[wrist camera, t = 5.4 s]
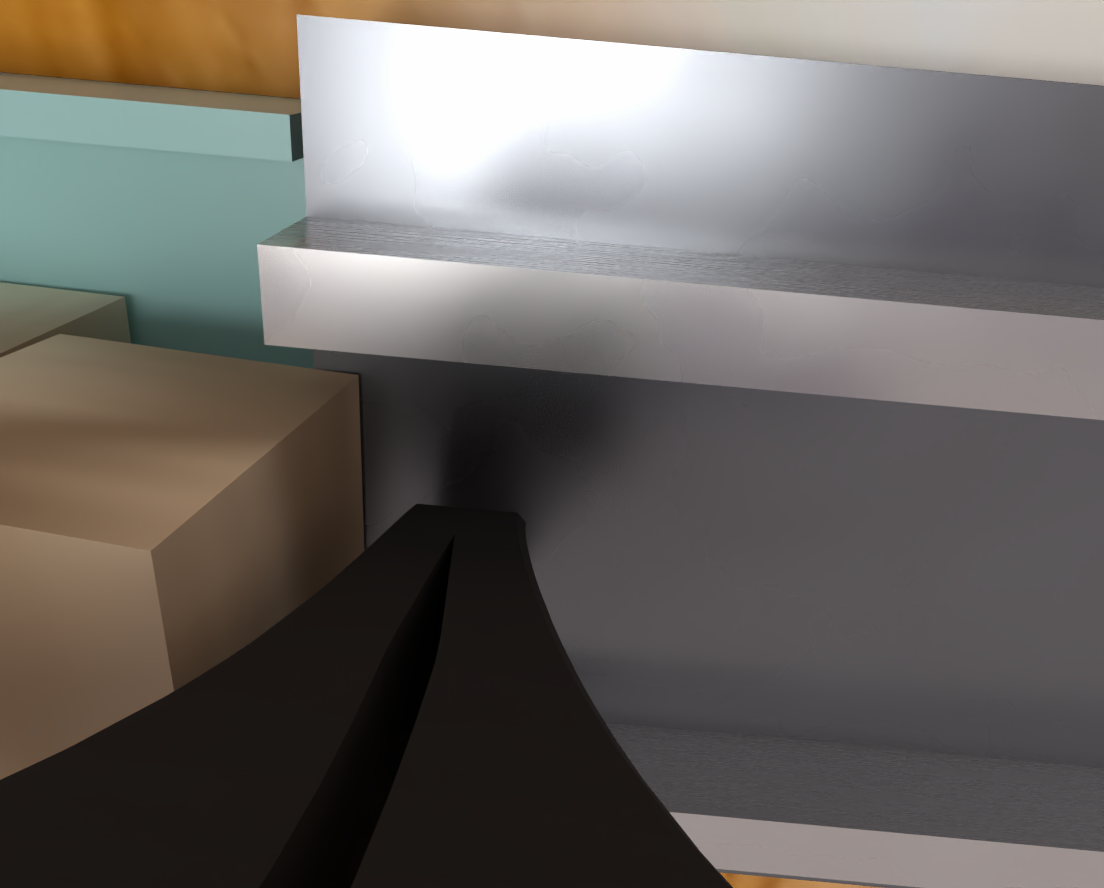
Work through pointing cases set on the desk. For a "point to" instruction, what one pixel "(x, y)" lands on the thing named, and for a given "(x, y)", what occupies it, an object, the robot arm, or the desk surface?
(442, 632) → the robot arm
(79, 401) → the block
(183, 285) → the tray
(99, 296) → the block
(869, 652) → the slot board
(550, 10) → the desk surface
